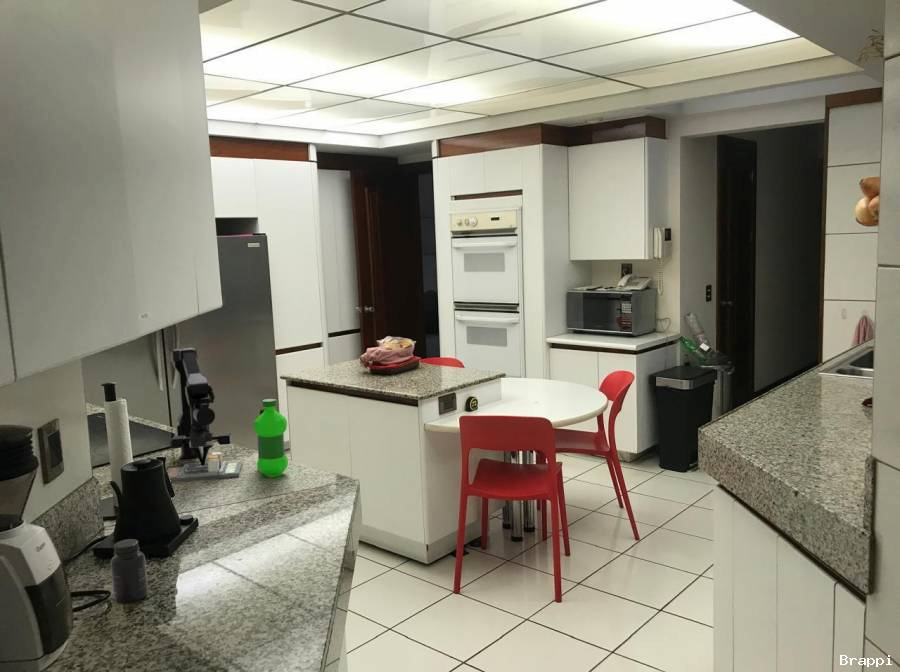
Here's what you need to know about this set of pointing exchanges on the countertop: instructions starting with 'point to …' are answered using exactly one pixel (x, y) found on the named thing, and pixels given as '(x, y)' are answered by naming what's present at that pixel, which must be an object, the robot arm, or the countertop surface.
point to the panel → (203, 472)
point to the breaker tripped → (212, 457)
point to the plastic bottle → (271, 440)
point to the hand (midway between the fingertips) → (203, 465)
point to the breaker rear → (218, 456)
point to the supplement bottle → (128, 572)
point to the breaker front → (213, 465)
